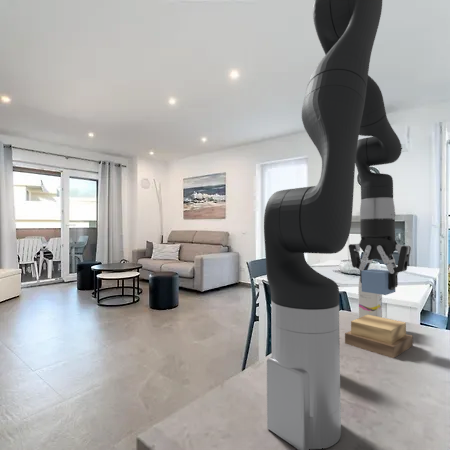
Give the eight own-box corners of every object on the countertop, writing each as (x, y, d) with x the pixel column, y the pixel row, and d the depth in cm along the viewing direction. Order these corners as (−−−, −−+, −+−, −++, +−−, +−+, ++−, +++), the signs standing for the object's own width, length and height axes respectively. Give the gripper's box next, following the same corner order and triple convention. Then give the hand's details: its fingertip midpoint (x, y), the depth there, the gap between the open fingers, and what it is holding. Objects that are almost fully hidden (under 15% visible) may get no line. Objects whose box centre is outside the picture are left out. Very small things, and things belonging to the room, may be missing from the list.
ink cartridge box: (378, 334, 78) (377, 278, 79) (358, 330, 81) (357, 276, 82) (383, 325, 85) (382, 274, 86) (364, 322, 88) (363, 273, 88)
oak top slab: (391, 344, 65) (390, 330, 65) (351, 333, 71) (351, 321, 71) (406, 335, 70) (405, 322, 70) (367, 326, 77) (367, 314, 77)
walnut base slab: (393, 361, 63) (393, 346, 63) (345, 345, 72) (344, 333, 72) (412, 348, 70) (412, 335, 70) (366, 335, 79) (366, 324, 79)
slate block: (385, 295, 67) (385, 273, 67) (361, 291, 72) (361, 270, 72) (395, 291, 71) (395, 271, 71) (372, 288, 75) (371, 269, 75)
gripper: (341, 218, 75) (342, 285, 74) (403, 215, 64) (405, 294, 63) (356, 219, 80) (357, 282, 79) (416, 216, 68) (417, 290, 68)
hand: (378, 287), depth 71 cm, fingers closed on slate block, 5 cm apart
